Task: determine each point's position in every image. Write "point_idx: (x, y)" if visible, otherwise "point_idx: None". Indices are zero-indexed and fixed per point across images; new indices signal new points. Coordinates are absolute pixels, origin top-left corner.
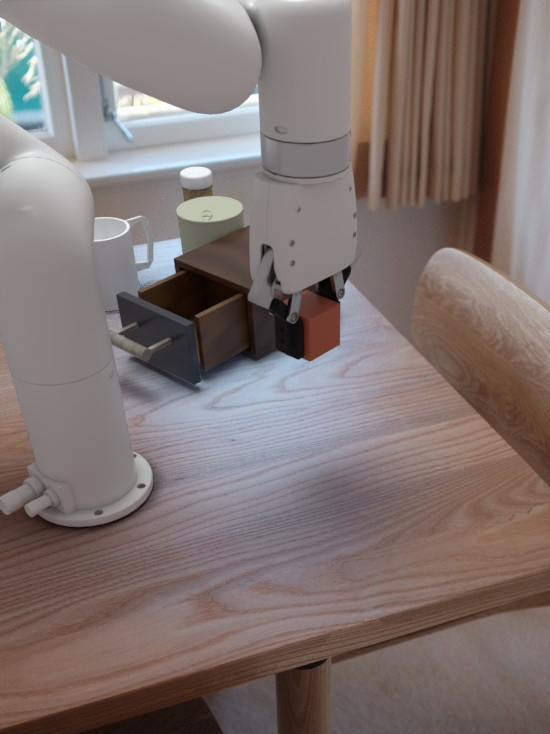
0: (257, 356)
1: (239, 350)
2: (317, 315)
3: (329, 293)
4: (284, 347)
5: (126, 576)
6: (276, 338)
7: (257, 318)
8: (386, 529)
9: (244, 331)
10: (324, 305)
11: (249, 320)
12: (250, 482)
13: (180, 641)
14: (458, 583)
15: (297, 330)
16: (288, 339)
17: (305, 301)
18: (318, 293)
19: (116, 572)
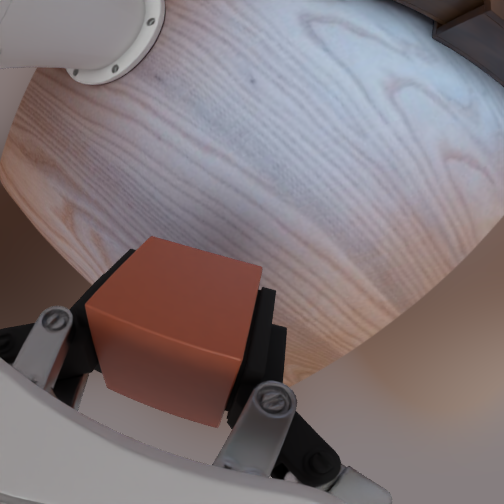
0: (436, 37)
1: (426, 14)
2: (134, 399)
3: (231, 422)
4: None
5: (55, 142)
6: (96, 281)
7: (469, 28)
8: None
9: (448, 13)
10: (182, 408)
11: (460, 17)
12: (189, 149)
13: (46, 216)
14: None
15: None
16: None
17: (165, 373)
18: (237, 392)
19: (55, 132)
